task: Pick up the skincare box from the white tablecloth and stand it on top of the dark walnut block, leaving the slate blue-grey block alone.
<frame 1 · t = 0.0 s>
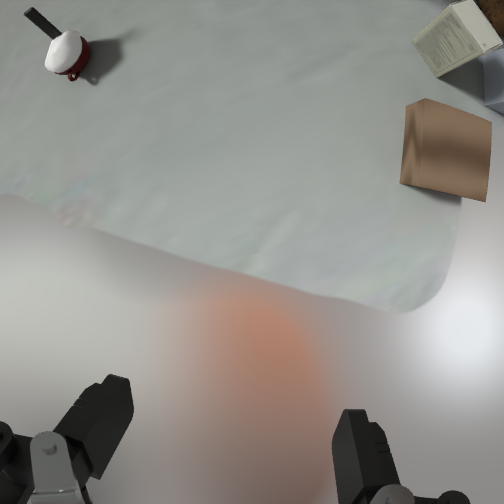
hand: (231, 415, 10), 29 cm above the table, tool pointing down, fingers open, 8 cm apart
block: (492, 12, 26), on the table
skincare box: (432, 54, 30), on the table
cocoa: (80, 57, 34), on the table
walnut block: (436, 152, 34), on the table
slate block: (502, 90, 30), on the table
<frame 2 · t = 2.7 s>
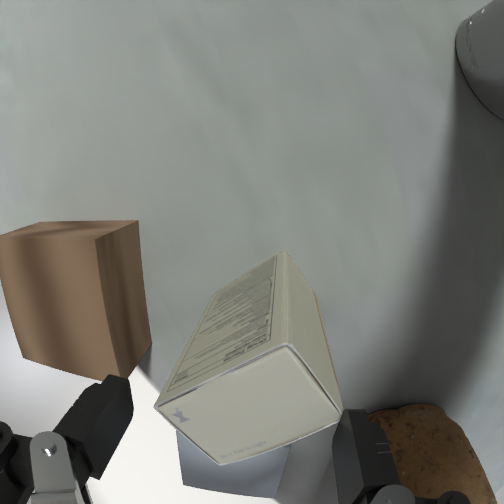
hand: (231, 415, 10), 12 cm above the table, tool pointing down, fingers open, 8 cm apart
block: (395, 426, 25), on the table
skincare box: (265, 292, 22), on the table, touching gripper
walnut block: (92, 281, 23), on the table
slate block: (239, 420, 26), on the table
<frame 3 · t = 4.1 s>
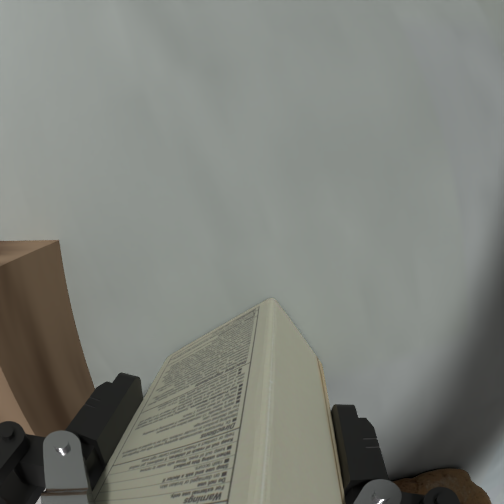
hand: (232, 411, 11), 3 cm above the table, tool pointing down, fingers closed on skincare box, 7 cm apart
block: (408, 490, 17), on the table
skincare box: (244, 356, 14), on the table, touching gripper
walnut block: (20, 319, 15), on the table
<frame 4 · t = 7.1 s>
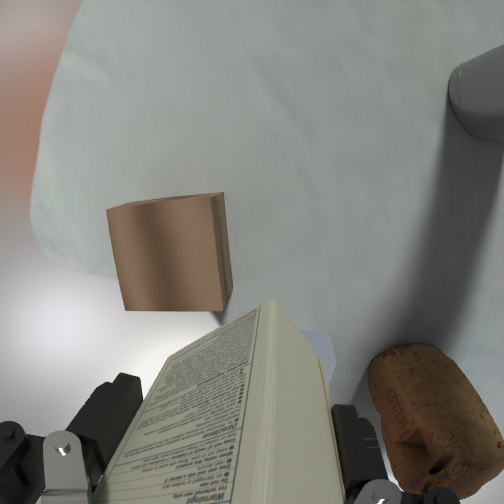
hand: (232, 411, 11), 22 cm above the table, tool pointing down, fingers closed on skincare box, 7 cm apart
block: (404, 364, 34), on the table
skincare box: (244, 357, 14), point 19 cm above the table, touching gripper
walnut block: (182, 243, 33), on the table
slate block: (288, 357, 35), on the table
when the fingers open (11 cm above the table, at t = 10.2 s): skincare box drops 2 cm, point 6 cm above the table.
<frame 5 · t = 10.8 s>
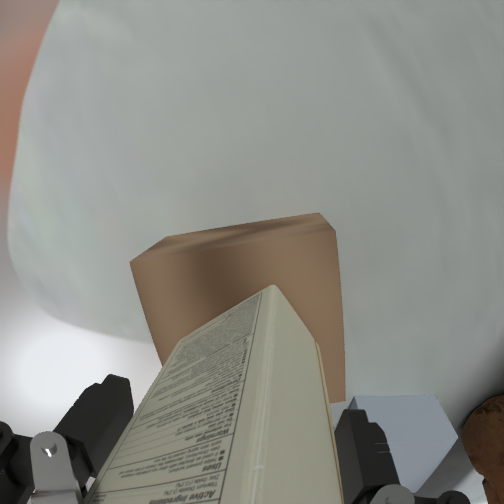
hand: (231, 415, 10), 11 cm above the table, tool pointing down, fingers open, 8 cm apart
block: (494, 411, 23), on the table
skincare box: (248, 340, 16), point 6 cm above the table
walnut block: (253, 295, 21), on the table
slate block: (381, 426, 24), on the table
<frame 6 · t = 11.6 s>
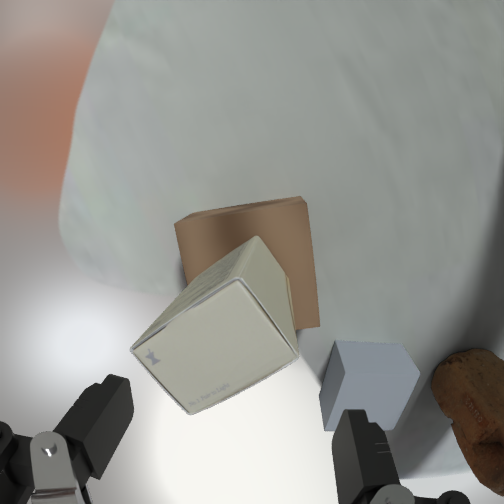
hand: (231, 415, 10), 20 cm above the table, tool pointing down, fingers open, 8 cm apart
block: (460, 369, 32), on the table
skincare box: (241, 276, 24), point 6 cm above the table, touching walnut block
walnut block: (254, 256, 30), on the table, touching skincare box
slate block: (359, 370, 32), on the table
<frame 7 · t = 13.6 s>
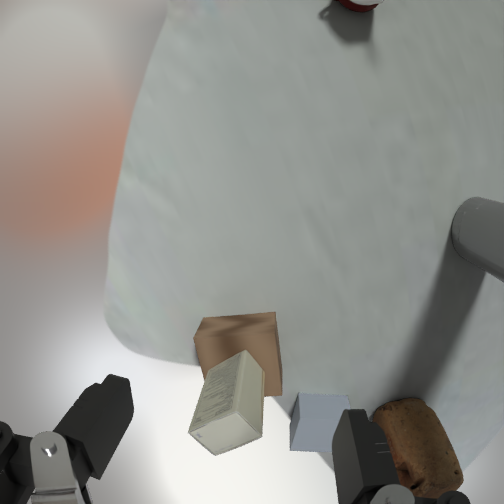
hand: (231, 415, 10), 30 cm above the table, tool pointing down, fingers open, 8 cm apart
block: (398, 410, 46), on the table
skincare box: (236, 369, 38), point 6 cm above the table
cocoa: (356, 1, 30), on the table
walnut block: (244, 344, 44), on the table
slate block: (317, 411, 46), on the table
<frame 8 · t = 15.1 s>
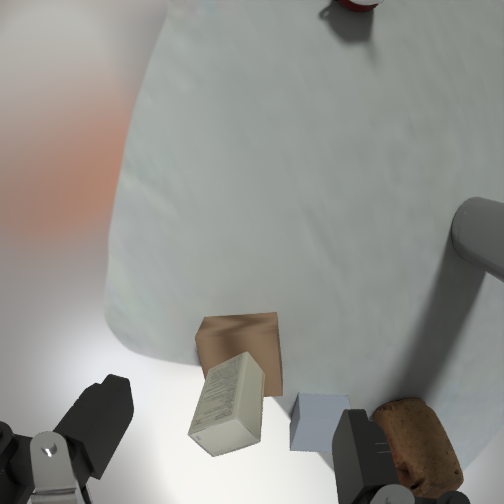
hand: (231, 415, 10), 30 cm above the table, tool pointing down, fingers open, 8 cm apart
block: (398, 410, 46), on the table
skincare box: (237, 369, 38), point 5 cm above the table, touching walnut block
cocoa: (356, 1, 30), on the table
walnut block: (244, 344, 44), on the table, touching skincare box
slate block: (317, 411, 46), on the table
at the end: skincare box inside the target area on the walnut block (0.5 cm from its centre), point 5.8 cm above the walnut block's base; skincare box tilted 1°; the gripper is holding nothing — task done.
